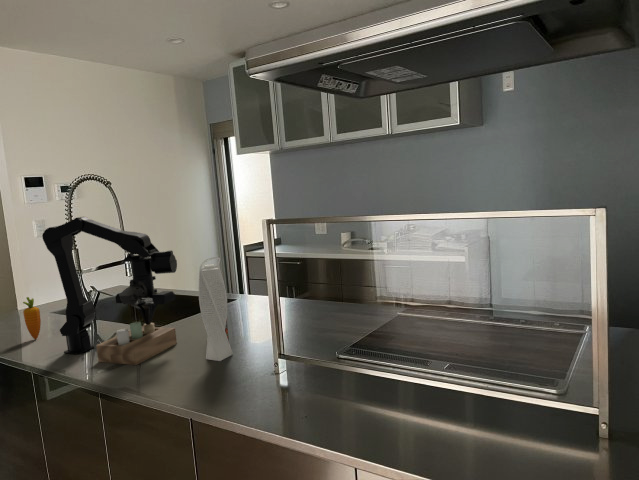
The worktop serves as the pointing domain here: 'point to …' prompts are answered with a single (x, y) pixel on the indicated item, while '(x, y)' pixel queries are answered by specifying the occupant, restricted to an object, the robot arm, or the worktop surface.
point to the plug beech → (149, 328)
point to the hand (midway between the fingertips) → (148, 324)
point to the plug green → (136, 330)
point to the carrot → (32, 318)
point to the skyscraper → (214, 310)
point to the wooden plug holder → (137, 347)
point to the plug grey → (123, 336)
